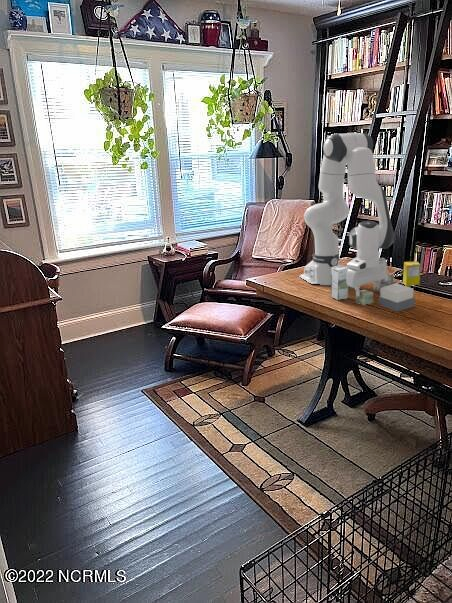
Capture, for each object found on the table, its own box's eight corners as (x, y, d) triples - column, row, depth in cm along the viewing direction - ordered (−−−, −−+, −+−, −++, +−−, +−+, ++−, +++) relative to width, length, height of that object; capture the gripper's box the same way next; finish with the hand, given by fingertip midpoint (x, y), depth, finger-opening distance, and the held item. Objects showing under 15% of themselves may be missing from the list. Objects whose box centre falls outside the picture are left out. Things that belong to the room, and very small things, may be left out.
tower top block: (380, 296, 189) (380, 287, 188) (395, 292, 193) (396, 283, 191) (397, 302, 181) (397, 293, 180) (412, 297, 185) (413, 288, 184)
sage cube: (355, 302, 195) (355, 291, 193) (364, 300, 197) (364, 289, 195) (363, 306, 190) (364, 295, 189) (372, 303, 192) (373, 292, 191)
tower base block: (378, 305, 191) (378, 296, 189) (396, 300, 195) (396, 291, 193) (396, 312, 182) (397, 303, 181) (414, 307, 186) (415, 298, 185)
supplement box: (415, 283, 212) (417, 261, 209) (419, 287, 207) (421, 264, 203) (402, 284, 213) (403, 261, 209) (405, 288, 207) (407, 265, 204)
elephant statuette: (382, 297, 200) (383, 280, 197) (368, 287, 211) (370, 272, 208) (401, 294, 201) (402, 278, 198) (386, 285, 212) (388, 269, 209)
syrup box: (341, 295, 205) (342, 264, 200) (349, 299, 199) (349, 267, 194) (330, 297, 203) (330, 266, 198) (337, 301, 198) (338, 269, 193)
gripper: (380, 255, 194) (379, 286, 199) (343, 264, 185) (343, 296, 190) (391, 257, 189) (390, 289, 193) (354, 267, 180) (354, 299, 184)
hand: (367, 292), depth 191 cm, fingers open, 8 cm apart
